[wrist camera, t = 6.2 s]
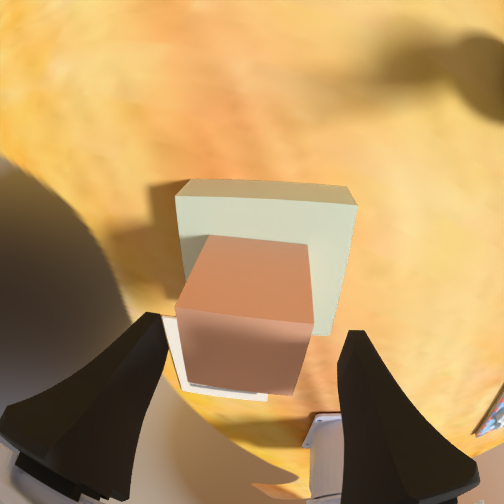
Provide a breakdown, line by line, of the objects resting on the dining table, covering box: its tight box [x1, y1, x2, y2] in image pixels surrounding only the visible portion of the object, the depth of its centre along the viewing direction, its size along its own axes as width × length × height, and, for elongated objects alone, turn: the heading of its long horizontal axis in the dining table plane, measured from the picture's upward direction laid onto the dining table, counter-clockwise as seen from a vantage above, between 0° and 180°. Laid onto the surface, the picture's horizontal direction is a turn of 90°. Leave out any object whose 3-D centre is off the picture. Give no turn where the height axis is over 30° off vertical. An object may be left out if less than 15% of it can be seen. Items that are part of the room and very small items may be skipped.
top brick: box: [175, 235, 314, 396], centre depth 12 cm, size 4×4×5 cm
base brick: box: [175, 179, 358, 336], centre depth 16 cm, size 8×8×3 cm
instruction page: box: [162, 315, 268, 402], centre depth 22 cm, size 10×8×1 cm
